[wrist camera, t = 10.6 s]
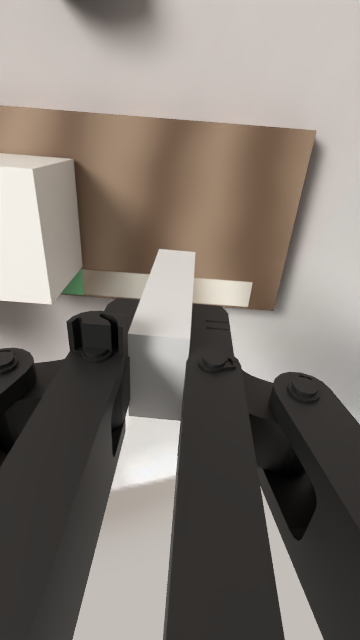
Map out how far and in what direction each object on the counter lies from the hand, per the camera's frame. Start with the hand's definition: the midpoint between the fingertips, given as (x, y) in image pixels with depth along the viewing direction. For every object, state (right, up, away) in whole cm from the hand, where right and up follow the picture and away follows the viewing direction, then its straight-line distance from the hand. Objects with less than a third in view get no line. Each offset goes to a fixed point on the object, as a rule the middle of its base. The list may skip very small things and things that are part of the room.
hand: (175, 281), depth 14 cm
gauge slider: (-11, +4, +9) cm, 15 cm away
